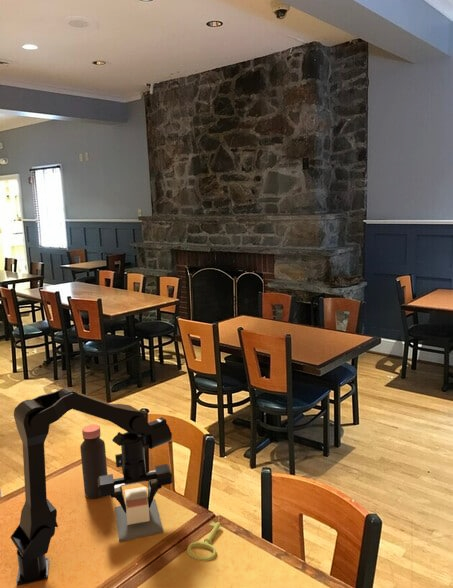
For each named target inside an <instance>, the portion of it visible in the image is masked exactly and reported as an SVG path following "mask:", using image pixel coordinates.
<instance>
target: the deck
mask: <svg viewBox="0 0 453 588" xmlns="http://www.w3.org/2000/svg"><path fill="white" fill-rule="evenodd" d="M124 493H125V494H124V499H125V504H126V514H127V525H130V524H135V523H141V522H147V521H150V519H149V505H148V489H147V486H141V487H135V488H128V489H125V490H124Z"/></svg>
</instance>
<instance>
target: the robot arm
mask: <svg viewBox="0 0 453 588" xmlns="http://www.w3.org/2000/svg"><path fill="white" fill-rule="evenodd" d="M71 410H74V411H77V412H81V413H84V414H86V415H89V416H92V417H96V418H99V419H102V420H105V421H108V422H110V423H112V424H114V425H116V426H117V427H119V428H121V429H122V430H124V431H126V432H124V433H122V432H119V431H118V432H117V434H116V435H115V436H114V437H113V438H112V442H113V443H115V444H116V445H118V446H119V447H120V448H121V449H120V450H121V453H118V454H115V466H116V468H121V471H122V472H121V473H122V476H123V477H119V478H114V475H113V473H110V474H108V475H104V476H99V478H98V493H99V497H100V498H105V497H110V498H112V499H113V498H114V499H115V500H116V501H117V502H118V503H119V506H122V508H123V510H124V512H125V513H126V499H125V494H124V492H123V487H124V486H130V485H135V484H140V483H146V482H147V485H148V486H147V497H148V505H149V508H150V506H151V504H152V501H153V499H155V496H156V495H157V492H158V490H159V489H162V488H163V486H166V485H167V486H168V485H171V484H172V483H174V482H173V481H174V479H173V472H172V470H171V467H170V465H169V464H168V463H166V464H161V465H155V466H154V467H153V468H154V469H153V470H149V471H148V472H146V470H147V469H146V467H147V466H146V457H145V456H146V455H145V447H147V448H148V450H151V449H154V448H157V447H159V446H162V445H165V444H167V443H169V442H171V440H172V438H173V433H172V431H171V429H170V426H169V424H168V423H167V419H166V418H164V417H159V418H157V419H155V420H152V421H150V422H147V421H146V420H147V419H146V414H145V413H144V412H142V411H141V410H139V409H136V408H135V407H133V406H132V405H129V404H124V403H110V402H106V401H104V400H100V399H98V398H95V397H93V396H89V395H87V394H84V393H81V392H78V391H75V390H73V389H72V388H70V387H63V388H60V389H58V390H56V391H54V392H49V393H46V394H42V395H39V396H37V397H34V398H32V399H25V400H23V401H21V402H20V403H18V405H17V406H16V407H14V411H13V418H14V421H15V426H16V429H17V431H18V432H17V433H18V434H19V437H20V439H21V442H22V456H23V457H22V458H23V478H24V495H25V496H24V497H25V498H24V500H25V502H24V505H23V506H22V509H21V510H20V511H21V512H20V518H19V524H18V526H17V527H16V528H15V530H14V531H13V532H12V534H11V536H10V539H11V541H12V543H13V544H14V546H15V547H16V549H17V550H16V556H17V564H18V570H17V571H18V572H17V576H16V585H17V586H20V585H24V584H28V583H33V582H39V581H41V580H46V579H48V577H49V566H50V557H46V554H47V553H48V552H49V548H50V543H51V540H52V538H53V537H54V536H55V534H56V528H58V527H59V524H58V523H57V522H58V521H57V516H58V509H57V508H56V507H55V506H54V505H53V504H52V503H51V501H50V500H49V499H48V497H47V481H46V479H47V478H46V457H45V456H46V455H45V452H46V451H45V441H46V439H47V437H48V435H49V432H50V425H51V424H53V423H55V422H57V421H59V420H60V419H61V418H63V416H64V415H66V414H67V412H70V411H71Z"/></svg>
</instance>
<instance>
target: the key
mask: <svg viewBox="0 0 453 588" xmlns="http://www.w3.org/2000/svg"><path fill="white" fill-rule="evenodd" d="M221 525H222V524H221V522H220V521H217V522H214V521H211V522H210V523H209V527H213V528H212V530H211V531H210V533H209V535H208V536H207V537H206V538H204V540H203V541H192V542H191V543H190V544H188V546H187V548H186V549H187V550H186V551H187V554H188V556H190V558H192V559H195V560H198V561H201V562H204V561H205V562H206V561H212V560H213V559H215V558H216V556H217V549H216V547H215V546H214V545H212V540H213V539H214V537H215V536H216V534H217V532H218V531H219V529H220V527H221ZM196 547H197V548H199V547H200V548H205V549H208V550H210V551H211V552H213V553H212V554H210V555H205V556H202V555H197V554H196V553H194V552H193V551H192V550H191V549H192V548H196Z"/></svg>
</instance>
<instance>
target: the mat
mask: <svg viewBox="0 0 453 588" xmlns="http://www.w3.org/2000/svg"><path fill="white" fill-rule="evenodd" d="M114 510H115V511H114V512H115V519H116V527H117V534H118V542H119V543H120V542H125V541H128V540H133V539H138V538H139V539H140V538H142V537H143V538H144V537H147V536H151V535H152V536H153V535H156V534H161V533H164V528H163V524H162V521H161V516H160V513H159V509H158V505H157V501H156V499H155V498H153V501H152V504H151V506H150V508H149V519H150V521H147V522H141V523H135V524H130V525H127V514H126V513H125V512H124V510H123V508H122V506H121V505H118V506H114Z"/></svg>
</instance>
